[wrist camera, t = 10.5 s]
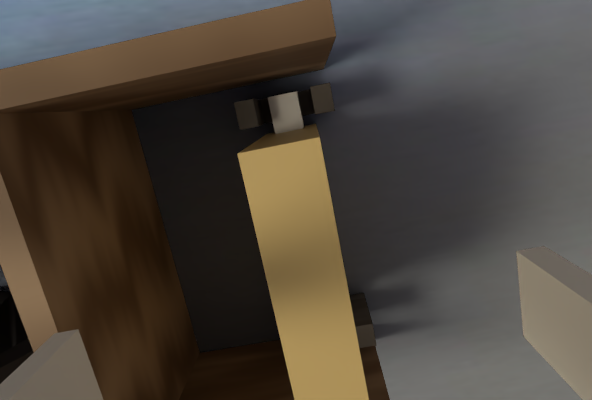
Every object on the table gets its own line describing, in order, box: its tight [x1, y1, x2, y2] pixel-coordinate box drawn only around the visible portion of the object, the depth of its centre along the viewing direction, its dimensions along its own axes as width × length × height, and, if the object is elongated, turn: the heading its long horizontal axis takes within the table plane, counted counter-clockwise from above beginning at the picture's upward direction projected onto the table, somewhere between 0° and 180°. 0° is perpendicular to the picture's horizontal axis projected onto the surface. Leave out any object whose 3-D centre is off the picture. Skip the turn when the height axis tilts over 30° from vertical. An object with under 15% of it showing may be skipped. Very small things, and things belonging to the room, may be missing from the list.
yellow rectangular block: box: [237, 91, 369, 400], centre depth 21 cm, size 15×3×11 cm, turn 11°
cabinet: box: [0, 0, 390, 400], centre depth 21 cm, size 19×13×12 cm
